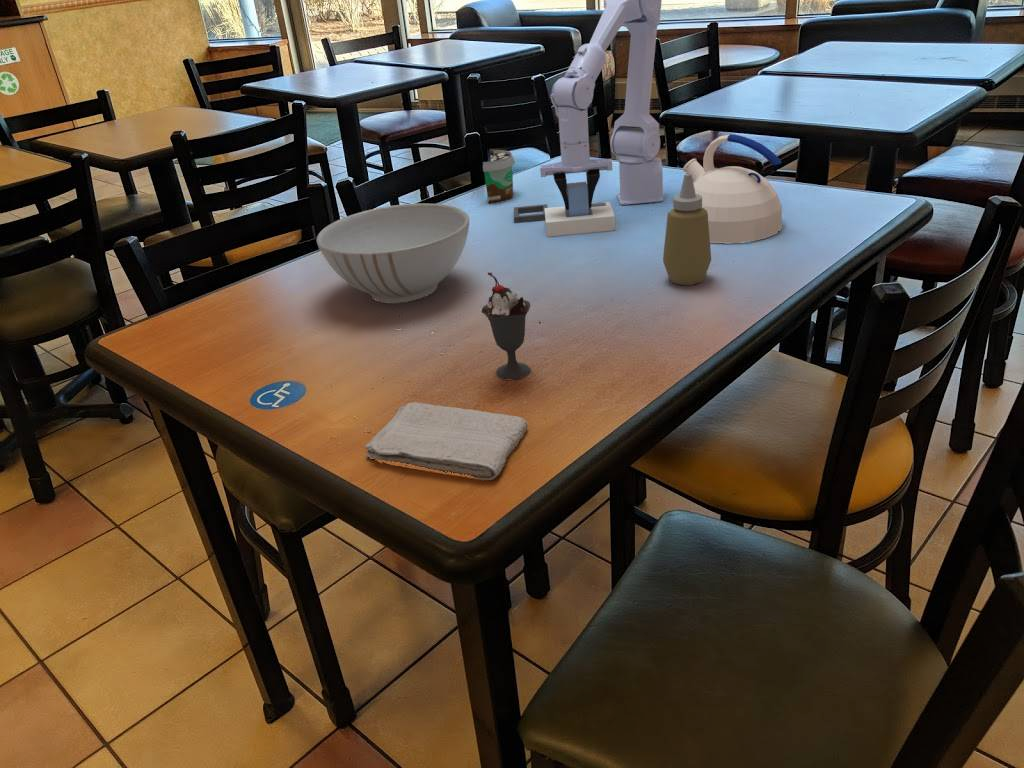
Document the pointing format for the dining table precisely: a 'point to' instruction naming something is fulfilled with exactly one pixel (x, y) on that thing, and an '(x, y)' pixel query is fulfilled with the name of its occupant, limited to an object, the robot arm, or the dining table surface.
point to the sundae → (508, 327)
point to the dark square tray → (526, 210)
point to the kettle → (736, 196)
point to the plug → (577, 199)
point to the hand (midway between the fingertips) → (578, 207)
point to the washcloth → (448, 439)
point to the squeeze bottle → (687, 237)
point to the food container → (499, 176)
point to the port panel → (579, 220)
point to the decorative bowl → (396, 249)
